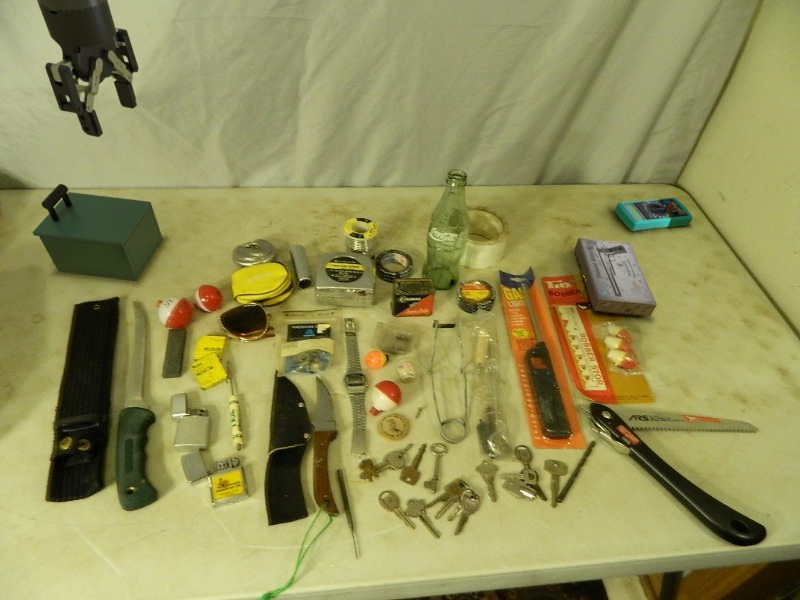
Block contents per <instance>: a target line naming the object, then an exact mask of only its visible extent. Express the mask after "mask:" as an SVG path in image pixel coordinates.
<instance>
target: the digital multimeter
mask: <svg viewBox="0 0 800 600" xmlns="http://www.w3.org/2000/svg"><path fill="white" fill-rule="evenodd" d="M614 212H615V214H616V215H617V216H618V218H619V219H620V221H621V222H622V223H623V224H624V225H625V226H626V228H628V229H629V230H630V232H633V231H643V230H652V229H653V230H654V229H663V228H672V227H673V228H674V227H682V226H683V227H685V226H689V225H690V224H691V222H692V221H693V218H694V217H693V216H692V214H691V213H690V211H689V210H688V208H687V207H686V206H685V204H683V203H682V202H681V201H679V199H677V198H675V197H667V198H666V197H665V198H658V199H656V198H655V199H646V200H636V201H633V200H632V201H620V202H617V204H616V206H615V208H614Z"/></svg>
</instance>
